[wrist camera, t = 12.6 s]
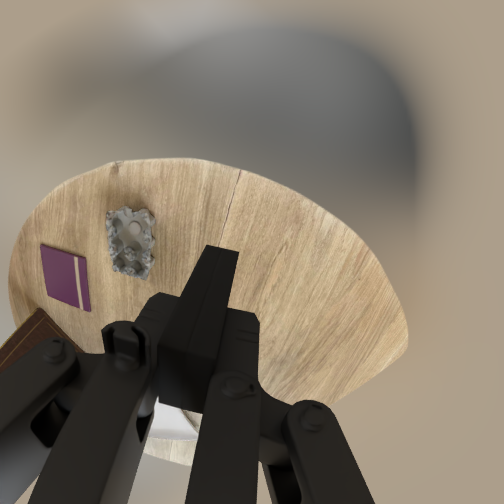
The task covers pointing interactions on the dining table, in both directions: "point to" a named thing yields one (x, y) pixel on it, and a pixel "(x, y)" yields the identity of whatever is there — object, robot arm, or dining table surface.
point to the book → (30, 337)
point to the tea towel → (66, 277)
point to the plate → (171, 424)
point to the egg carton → (130, 241)
